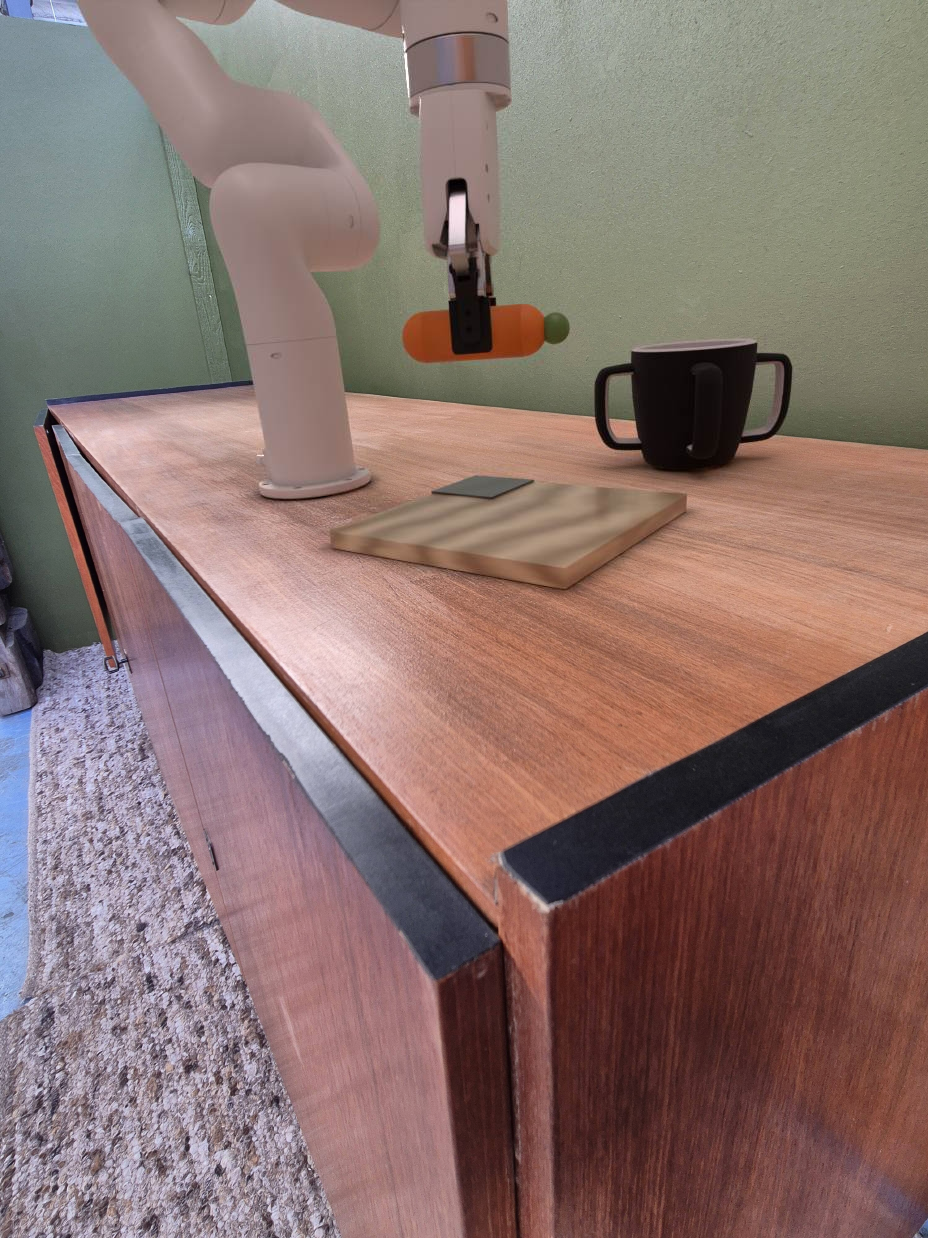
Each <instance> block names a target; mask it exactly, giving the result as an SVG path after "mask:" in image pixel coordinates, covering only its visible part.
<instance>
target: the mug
mask: <svg viewBox="0 0 928 1238" xmlns="http://www.w3.org/2000/svg"><path fill="white" fill-rule="evenodd" d="M764 365H774V369H775V375H774V376H775V377H774V378H775V379H774V392H773V399H772V405H771V411H770V414H769V417H768V419H767V421H766V422H765V423H764V425H763V426H762V427H759V428H754V429H753V428H752V429H745V426H746V422H747V417H748V413H749V408H750V404H751V399H752V394H753V388H754V382H755V374H756V368H757V366H764ZM623 376H624V377H625V376H630V381H631V382H630V383H631V396H632V398H631V399H632V405H633V413H634V420H635V421H634V422H635V428H636V433H637V437H618V436H616V435H615V433H614V431H613V429H612V427H611V421H610V406H609V401H610V400H609V398H610V397H609V394H610V393H609V390H610V381H611V379H612V378H613V377H623ZM792 384H793V364H792V362H791V359H790V357H789V355H786V354H785V353H781V352H780V353H779V352H758V341H757V340H756V339H752V338H714V339H713V338H711V339H698V340H696V339H695V340H683V341H673V342H672V341H671V342H662V343H654V344H647V345H640V346H636V347H634V348H633V349H631V350H630V362H626V363H620V364H616V365H610V366H605V367H602V368H601V369H600V370H599V372H598V373H597V375H596V378H595V380H594V386H593V387H594V388H593V389H594V390H593V392H594V397H593V399H594V402H593V403H594V404H593V405H594V406H593V407H594V421H595V427H596V430H597V433H598V434H599V438H600V439H601V440H602V443H603V444H604V445H605V446H606V447H607V448H609V449H611V450H614V451H624V452H625V451H627V452H628V451H630V452H631V451H640V452H641V455H642V457H643V460H644V462H645V463H646V464H648V465H649V466H652V467H655V468H659V469H660V468H661V469H665V470H672V471H673V470H675V471H692V470H693V471H694V470H705V469H710V468H715V467H719V466H723V465H726V464H728V463H730V462H731V461H732V460H733V459H734V458H735V456H736V454H737V452H738V449H739V446H740V444H750V443H757V442H763V441H767V440H769V439H770V438H773V437H774V436H775V435H776V434H777V433H778V432H779V431H780V429H781V427H782V426H783V424H784V422H785V420H786V418H787V414H788V413H789V407H790V402H791V401H790V400H791V395H792V394H791V393H792Z"/></svg>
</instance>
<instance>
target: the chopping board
mask: <svg viewBox="0 0 928 1238" xmlns="http://www.w3.org/2000/svg"><path fill="white" fill-rule="evenodd" d="M430 492H431V493H429V494H426V495H424V496H421V497H418V498H416V499H415V498H414V499H413V500H410V501H407V502H404V503H402V504H399V505H397V506H393V507H390V508H388V509H385V510H383V511H379V512H377V513H374V514H372V515H369V516H366V517H363V518H361V519H358V520H355V521H353V522H349V523H347V524H345V525H341V526H338V527H336V528H333V529H331V530H329V531H328V532H329V533H328V534H329V538H330V543H331V545H330V546H331V549H333V550H334V549H335V550H341V551H346V552H351V553H356V554H357V553H358V554H363V555H368V556H374V557H380V558H386V559H391V560H397V561H403V562H409V563H414V564H420V565H425V566H430V567H437V568H442V569H443V568H444V569H448V570H453V571H459V572H464V573H470V574H475V575H480V576H481V575H482V576H487V577H492V578H498V579H503V580H504V579H505V580H510V581H514V582H515V581H516V582H520V583H527V584H533V585H538V586H543V587H549V588H555V589H561V590H567V589H569V588H570V587H572V586H573V585H575V584H576V583H578V582H579V581H581V580H583V579H584V578H586V577H587V576H589V575H591V574H592V573H593V572H595V571H596V570H598V569H599V568H602V567H603V566H604V565H606V564H607V563H609V562H610V561H611V560H613V559H615V558H616V557H618V556H619V555H621V554H622V553H624V552H626V551H627V550H628V549H630V548H632V547H634V546H635V545H636V544H638V543H639V542H641V541H643V540H644V539H645V538H647V537H648V536H650V535H652V534H653V533H655V532H656V531H657V530H660V529H661V528H663V527H664V526H666V525H667V524H669V523H670V522H672V521H673V520H675V519H676V518H678V517H679V516H681V515H683V514H684V513H685V512H687V506H688V505H687V503H688V502H687V501H688V494H687V493H684V492H683V493H681V492H671V491H670V492H668V491H655V490H645V489H644V490H642V489H630V488H618V487H617V488H616V487H604V486H591V485H581V484H580V485H578V484H566V483H554V482H541V481H535V479H531V478H517V477H506V476H505V477H503V476H491V475H479V474H474V475H472V476H469V477H467V478H464V479H462V480H458V481H456V482H453V483H451V484H447V485H445V486H442V487H439V488H436V489H433V490H431V491H430Z"/></svg>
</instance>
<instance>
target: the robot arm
mask: <svg viewBox="0 0 928 1238" xmlns="http://www.w3.org/2000/svg"><path fill="white" fill-rule="evenodd" d="M256 1H257V0H75V2H76V4H77V7H78V9H79V11H80V14H81V16H82V18H83V20H84V22H85V23H86V26H87V27H88V29H89V31H90V32H91V34H92V36H93V37H94V39H95V40H96V42H97V43H98V45H99V46H100V47H101V49H102V50H103V51H104V53H105V54H106V55H107V57H108V58H109V59H110V60H111V62H112V63H113V64H114V65H115V67H117V69H118V70H119V71H120V72H121V73H122V75H123V76H124V77H125V78H126V79H127V80H128V82H129V83H130V84H131V85H132V86H133V88H134V89H135V91H137V93H138V94H139V96H140V97H141V98H142V100H143V102H144V103H145V105H146V106H147V108H148V110H149V111H150V113H151V114H152V117H154V119H155V121H156V123H157V124H158V125H159V128H161V130H162V132H163V133H164V135H165V136H166V137H167V139H168V141H169V143H170V144H171V145H172V147H173V149H174V150H175V152H176V153H177V155H178V156H179V158H180V159H181V161H182V162H183V164H184V166H185V167H186V168H187V169H188V170H189V172H190V173H191V175H193V177H194V178H195V179H196V180H197V181H198V182H199V183H200V184H202V185H203V186H205V187H207V188H208V189H211V190H210V195H209V203H208V207H209V211H208V212H209V219H210V222H211V227H212V232H213V234H214V237H215V240H216V244H217V246H218V248H219V251H220V253H221V256H222V260H223V262H224V264H225V268H226V270H227V273H228V276H229V279H230V282H231V287H232V289H233V293H234V297H235V301H236V305H237V309H238V315H239V319H240V323H241V328H242V333H243V338H244V345H245V348H246V352H247V359H248V363H249V369H250V374H251V380H252V385H253V391H254V395H255V400H256V405H257V411H258V415H259V420H260V421H259V422H260V427H261V431H262V436H263V441H264V447H265V448H262V449H261V450H262V454H256V455H255V456H254V459H253V462H254V464H255V465H256V466H257V467H265V471H266V476H267V477H265V478H263V479H262V480H260V482H259V483H258V490H259V494H260V495H261V496H263V497H266V498H269V499H278V500H279V499H281V500H294V499H295V500H297V499H309V498H317V497H318V498H319V497H325V496H332V495H336V494H341V493H345V492H349V491H352V490H356V489H358V488H361V487H363V486H366V485H367V484H368V483H369V482H371V479H372V475H371V471H370V469H369V467H368V468H367V467H365V466H362V465H356V460H355V455H354V454H355V453H354V445H353V440H352V439H353V438H352V432H351V426H350V420H349V411H348V404H347V398H346V391H345V384H344V377H343V370H342V362H341V357H340V349H339V343H338V342H339V341H338V336H337V329H336V324H335V318H334V316H333V315H334V313H333V311H332V309H331V306H330V304H329V301H328V299H327V298H326V295H325V294H324V292H323V291H322V289H321V288H320V286H319V284H318V283H317V281H316V280H315V278H314V277H313V275H312V273H323V272H325V273H326V272H330V273H331V272H344V271H352V270H355V269H358V268H361V267H363V266H364V265H366V264H367V263H369V261H371V259H372V258H373V257H374V255H375V254H376V252H377V250H378V248H379V244H380V238H381V218H380V213H379V209H378V206H377V202H376V200H375V197H374V194H373V192H372V191H371V188H370V187H369V185H368V183H367V182H366V179H365V178H364V177H363V175H362V174H361V172H360V170H359V168H357V166H356V165H355V163H354V162H353V160H352V159H351V157H350V156H349V154H348V153H347V152H346V150H345V149H344V147H343V146H342V144H341V142H340V141H339V139H338V138H337V137H336V135H335V134H334V132H333V130H331V128H330V127H329V125H328V124H327V122H326V121H325V120H324V118H323V117H322V115H321V114H320V113H319V112H318V111H317V110H316V109H315V108H314V107H313V106H312V105H311V104H310V103H308V101H305V100H303V98H301V97H299V96H297V95H294V94H291V93H288V92H284V91H281V90H275V89H268V88H262V87H259V86H258V87H257V86H253V85H248V84H244V83H241V82H239V81H236V80H234V79H233V78H231V77H230V76H229V75H228V74H227V73H226V72H225V71H224V70H223V67H221V66H220V64H219V63H218V61H217V59H216V58H215V56H214V54H213V53H212V51H211V50H210V48H209V47H208V46H207V45H206V43H204V41H203V39H201V37H200V36H198V35H197V34H196V33H195V32H194V30H192V29H191V28H190V27H189V26H187V25H186V24H185V23H183V21H181V20H180V19H179V18H181V19H185V20H190V21H195V22H199V23H203V24H208V25H212V26H213V25H214V26H228V25H231V24H233V23H235V22H237V21H238V20H240V19H241V18H243V17H244V16H245V14H246V13H247V12H248V11H249V10H250V9H251V7H252V6H253V5H254V3H256ZM274 1H275V2H277V3H278V4H280V5H282V6H284V7H287V8H288V9H291V10H293V11H295V12H298V13H300V14H303V15H306V16H310V17H314V18H318V19H322V20H325V21H331V22H335V23H339V24H343V25H347V26H349V27H350V26H351V27H355V28H359V29H361V30H365V31H368V32H371V33H376V34H379V35H383V36H385V37H386V36H387V37H391V38H396V39H402V41H403V53H404V63H405V74H406V85H407V99H408V110H409V113H410V114H411V115H412V116H414V117H418V118H419V122H418V123H419V159H420V180H421V196H422V197H421V198H422V200H421V201H422V218H423V219H422V220H423V235H424V247H425V249H426V251H427V252H428V253H429V255H430V256H432V257H433V258H436V259H440V260H443V261H446V266H447V267H446V269H447V282H448V283H447V286H448V288H447V289H448V297H449V298H448V299H449V300H448V301H447V302H448V303H447V305H448V310H449V317H450V330H451V343H452V352H453V353H454V354H455V355H462V354H476V353H488V352H490V351H491V350H492V347H493V345H492V327H491V310H490V306H497V297H496V296H495V287H494V276H493V275H494V273H493V262H492V261H493V257H494V256H496V254H497V253H498V252H499V251H500V247H501V199H500V194H501V193H500V169H499V168H500V167H499V146H498V145H499V143H498V126H497V125H498V124H497V112H500V111H503V110H504V109H506V108H508V107H509V106H510V105H511V104H512V79H511V56H510V54H511V53H510V35H509V11H508V10H509V9H508V7H509V6H508V0H274Z"/></svg>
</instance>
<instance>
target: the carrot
mask: <svg viewBox="0 0 928 1238" xmlns="http://www.w3.org/2000/svg"><path fill="white" fill-rule="evenodd" d="M490 310H491V327H492V345H493V347H492V350H491V351H490V352H488V353H476V354H462V355H455V354H454V353H453V352H452V343H451V330H450V317H449V309H439V310H438V309H437V310H427V311H425V310H423V311H419V312H417V313H414V314H413V315H411V316H410V317H409V318H408V319H407V320H406V322H405V324H404V325H403V328H402V334H401V340H402V341H401V342H402V345H403V348H404V350H405V352H406V353H407V354H408V356H409V357H410V358H411V359H412V360H415V361H416V362H419V363H422V364H435V363H437V364H438V363H451V362H452V363H453V362H467V361H483V360H496V359H498V360H499V359H511V358H513V359H514V358H524V357H529V356H532V355H534V354H535V353H537V352H538V351H539V350H540V349H542V347H543V345H544V344H545V343H547V344H549V345H559V344H560V343H563V342H564V341H565V340H566V339H567V337H568V336H569V334H570V331H571V330H570V329H571V325H570V321H569V320H568V318H567V316H566V315H565V314H564V313H561V312H557V311H553V312H550V313H548V314H546V315H545V316H544V314H543V313H542V311H541V310H540V309H538V308H537V307H536V306H534V305H532V304H528V303H516V304H504V305H502V304H501V305H496V306H490Z"/></svg>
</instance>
